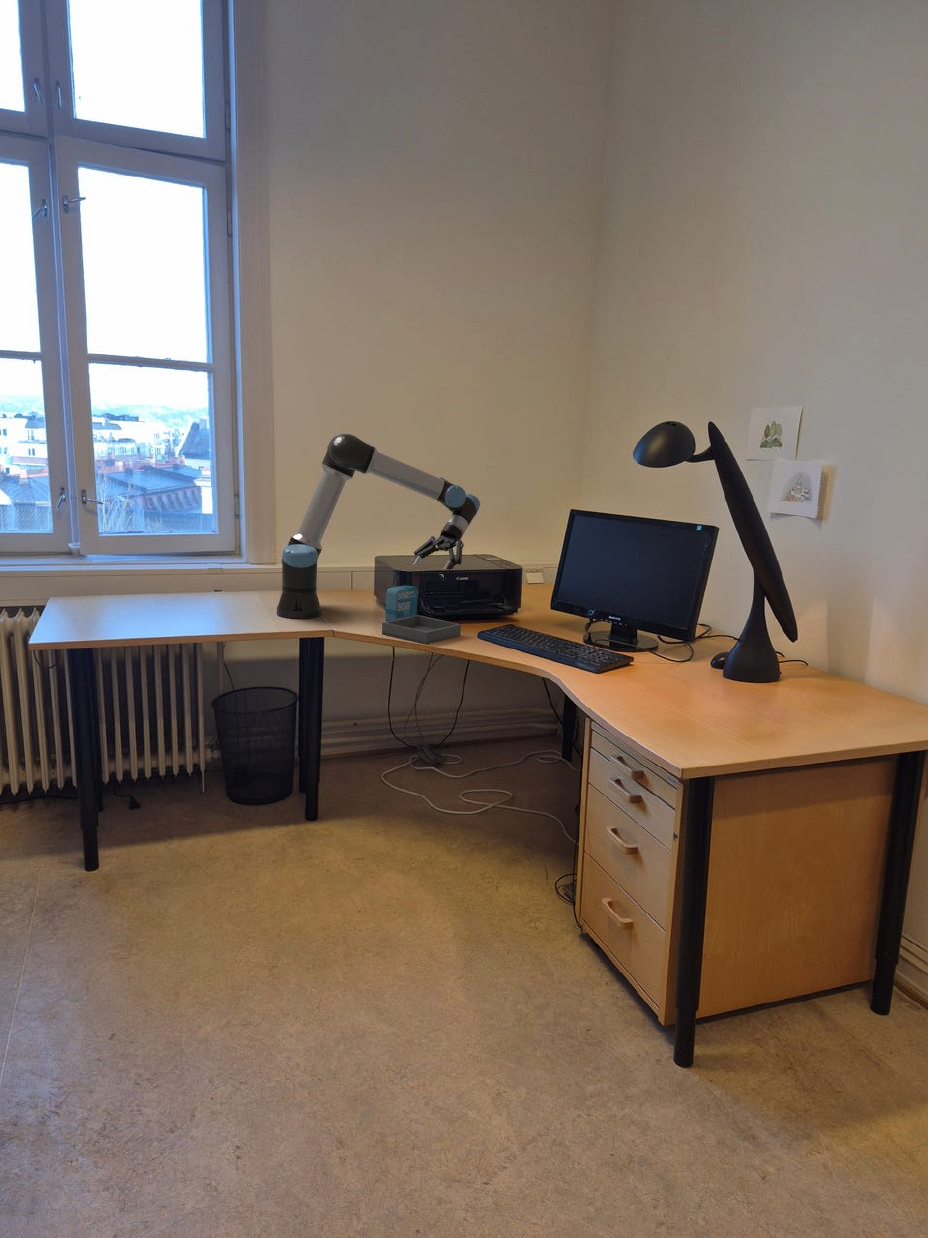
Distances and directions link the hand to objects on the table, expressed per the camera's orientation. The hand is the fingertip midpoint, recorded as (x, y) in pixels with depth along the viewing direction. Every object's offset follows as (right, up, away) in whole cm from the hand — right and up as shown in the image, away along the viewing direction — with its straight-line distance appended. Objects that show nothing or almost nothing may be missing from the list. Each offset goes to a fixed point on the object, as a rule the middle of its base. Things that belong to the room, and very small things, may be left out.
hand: (426, 574), depth 269 cm
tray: (-1, -21, -25) cm, 33 cm away
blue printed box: (-9, -17, -7) cm, 20 cm away
